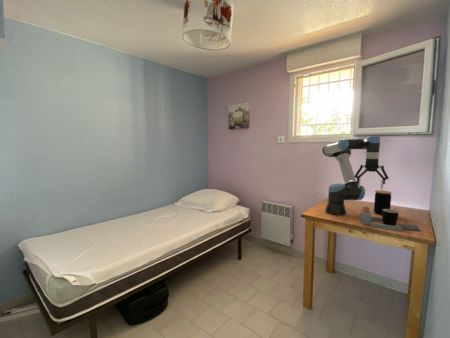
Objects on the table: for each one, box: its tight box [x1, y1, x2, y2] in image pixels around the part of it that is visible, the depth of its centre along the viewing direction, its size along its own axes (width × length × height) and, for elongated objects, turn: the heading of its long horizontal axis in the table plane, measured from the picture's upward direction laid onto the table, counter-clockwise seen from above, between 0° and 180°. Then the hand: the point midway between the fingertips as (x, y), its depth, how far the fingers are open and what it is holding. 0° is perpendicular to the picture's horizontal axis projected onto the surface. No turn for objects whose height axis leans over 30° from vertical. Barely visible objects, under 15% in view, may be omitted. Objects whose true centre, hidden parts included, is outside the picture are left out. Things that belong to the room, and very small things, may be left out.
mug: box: [381, 208, 399, 226], centre depth 155 cm, size 12×9×10 cm
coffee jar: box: [373, 189, 392, 216], centre depth 180 cm, size 11×11×18 cm
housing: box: [359, 208, 403, 232], centre depth 157 cm, size 22×16×8 cm
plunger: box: [362, 206, 370, 213], centre depth 161 cm, size 4×4×5 cm
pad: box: [398, 222, 422, 232], centre depth 151 cm, size 10×10×1 cm
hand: (370, 188), depth 160 cm, fingers open, 13 cm apart
